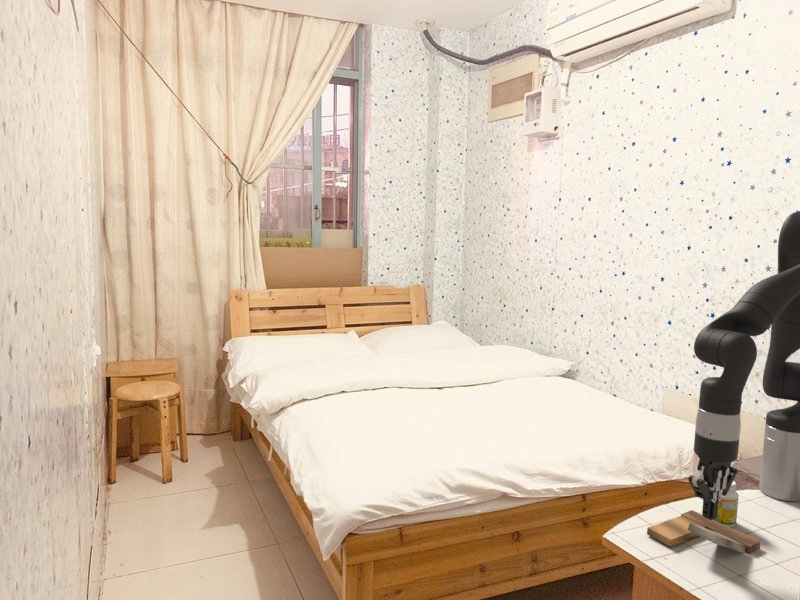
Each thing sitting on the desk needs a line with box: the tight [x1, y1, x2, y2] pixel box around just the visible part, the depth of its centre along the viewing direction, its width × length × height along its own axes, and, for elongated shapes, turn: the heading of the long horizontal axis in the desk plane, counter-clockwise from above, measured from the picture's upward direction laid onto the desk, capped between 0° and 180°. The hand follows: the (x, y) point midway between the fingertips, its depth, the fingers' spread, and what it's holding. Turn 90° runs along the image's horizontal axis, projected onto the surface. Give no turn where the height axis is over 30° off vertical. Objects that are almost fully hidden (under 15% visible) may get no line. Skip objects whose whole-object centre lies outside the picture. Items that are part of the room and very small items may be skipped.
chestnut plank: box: [646, 515, 706, 547], centre depth 124 cm, size 12×6×2 cm, turn 120°
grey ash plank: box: [688, 523, 746, 554], centre depth 116 cm, size 12×6×2 cm, turn 120°
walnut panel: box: [680, 509, 761, 555], centre depth 124 cm, size 4×15×2 cm, turn 30°
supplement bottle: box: [713, 480, 739, 528], centre depth 129 cm, size 5×5×10 cm
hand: (709, 517), depth 114 cm, fingers closed
